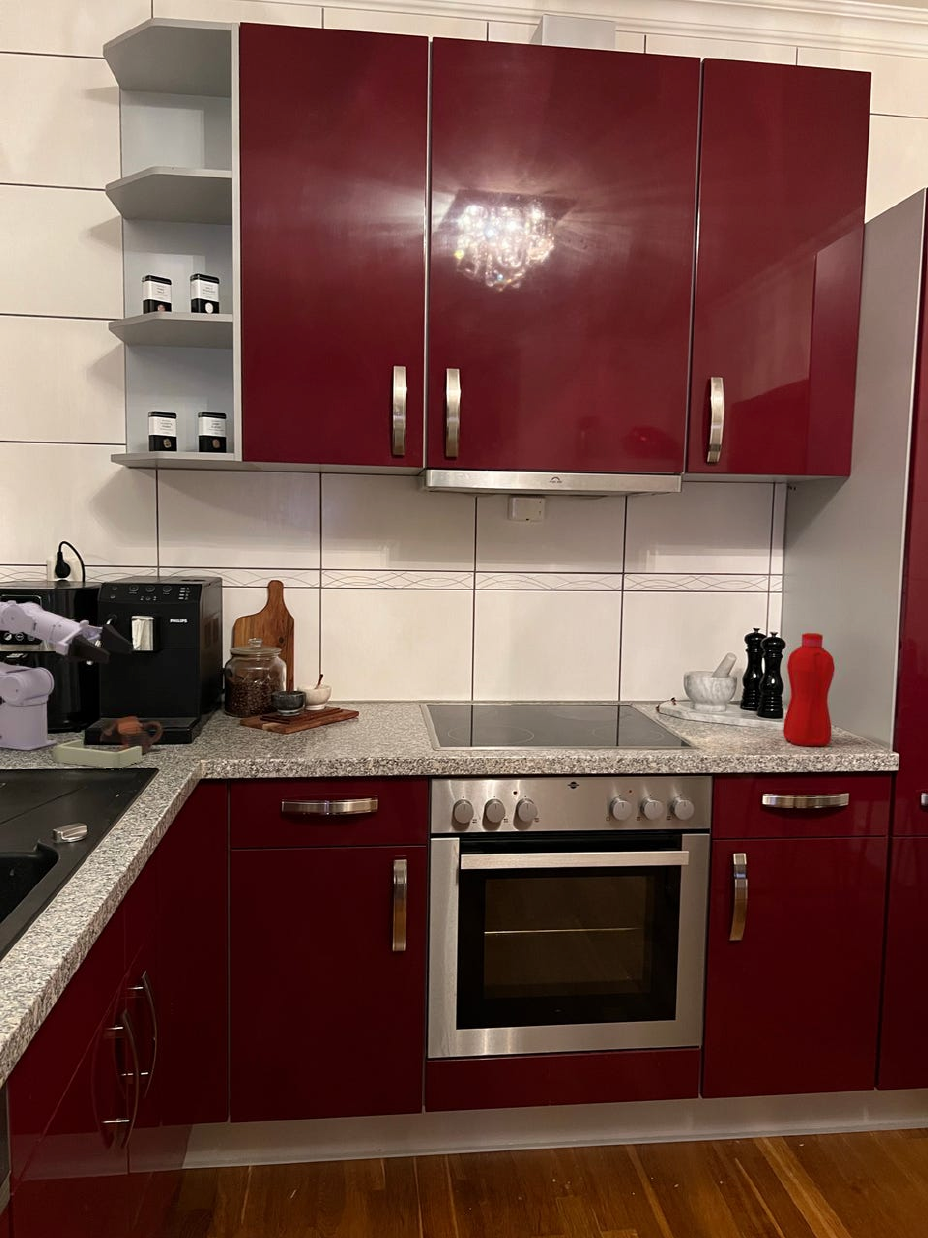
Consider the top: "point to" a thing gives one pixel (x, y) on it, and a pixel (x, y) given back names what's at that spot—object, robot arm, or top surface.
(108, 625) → the robot arm
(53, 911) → the top surface
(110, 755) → the tray
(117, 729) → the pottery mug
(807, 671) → the water bottle
